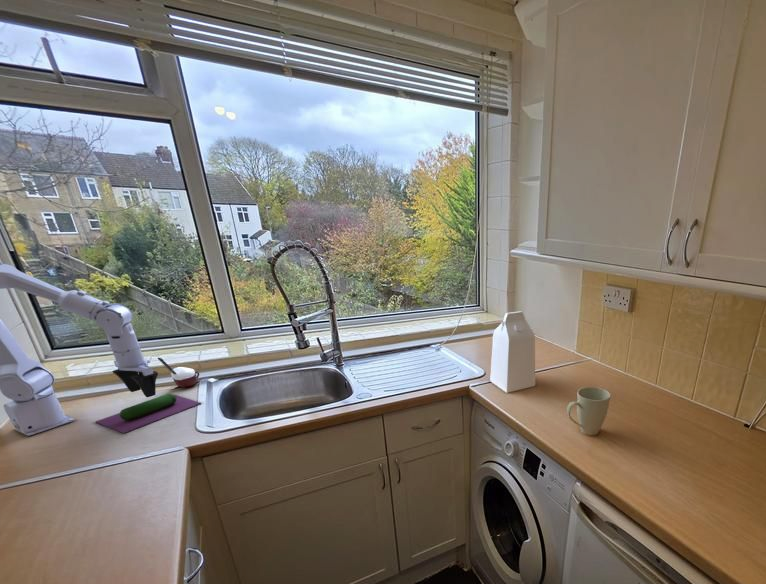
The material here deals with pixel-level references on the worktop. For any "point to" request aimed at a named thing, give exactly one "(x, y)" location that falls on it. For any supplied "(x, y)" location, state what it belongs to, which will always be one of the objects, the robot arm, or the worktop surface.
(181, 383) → the cocoa
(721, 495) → the worktop surface
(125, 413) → the cucumber
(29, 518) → the worktop surface
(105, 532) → the worktop surface
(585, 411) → the mug
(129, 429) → the towel
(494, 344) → the milk
